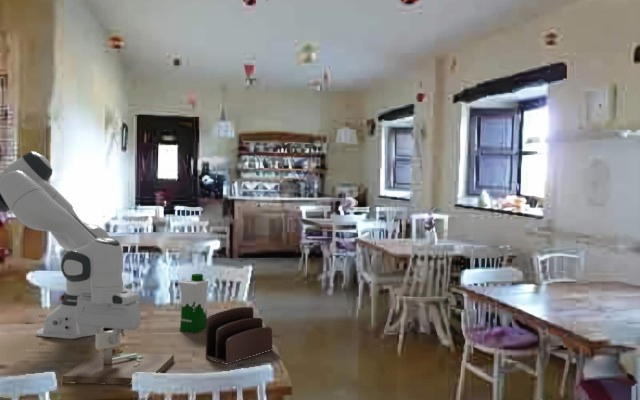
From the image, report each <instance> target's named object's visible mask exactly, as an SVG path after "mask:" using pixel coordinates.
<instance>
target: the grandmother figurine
mask: <svg viewBox="0 0 640 400" xmlns="http://www.w3.org/2000/svg"><path fill="white" fill-rule="evenodd" d="M111 330H113V328H103V332H105V331H111ZM121 330H122V331H121V333H120V334H121V337H123V338H124V337H125V335H126V334H125V330H123V329H121ZM112 353H124V352H123V349H122V348H121V345H120V346H116V347H112Z"/></svg>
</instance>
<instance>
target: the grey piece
mask: <svg viewBox="0 0 640 400" xmlns="http://www.w3.org/2000/svg"><path fill="white" fill-rule="evenodd" d="M114 333H115V332H113V330H111V331H105V332H100V333H95V335H94V336H95V338H94V339H95V340H94V341H95V349H96V350H98V351H100V350H103V351H102V353H103V364H112V361H116V360H121V359H126V358H130V357H135V356H137V354H138V353H136V352H134V353H135V354H130V355H126V356H121V357H116V358H112V353H113V352H112V347H116V346H120V347H121V339H120V338H121V335H120V334H121V333H120V334H119V336H118V343H116V344H112V343H110V337H113V335H114Z"/></svg>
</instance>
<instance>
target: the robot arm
mask: <svg viewBox="0 0 640 400" xmlns="http://www.w3.org/2000/svg"><path fill="white" fill-rule="evenodd" d="M52 176H53V168H52V165H51V163H50V162H49V160H48V159H47V158H46V157H45V156H44V155H43V154H40V153H38V152H37V151H29V152H26V153H23V154H22V157H19V158H18V159H16V160H15V161H13V162H12V163H10V164H8V165H7V166H6V167H5V168H4V169H3V170H2V171H1V172H0V213H6V212H9V211H11V212H12V214H13V215H14V216H15V217H16V218H17V220H18V221H19V222H20V223H21V224H22V225H24V226H25V227H26V228H28V229H31V230H36V231H43V232H49V233H51V235H52V236H53V238H54V239H55V240H56V241H57V243H58V245H59V246H60V247H61V248H62V249H63V250H65V251H67V252H66V253H64V255H63V257H62V259H61V261H60V269H61V272H62V275H63V277H64V278H65V279H66V280H65V281H66V283H65V284H66V285H65V286H66V287H65V288H66V292H65V293H64V294H63V295H61V296H59V301H61V304H60V305H58V306H57V307H55V309H53V310H52V311H50V312H49V313H48V314H47V315H46V316H45V319H44V321H43V327H42V328H40V329H38V330H37V332H36V336H37V337H46V338H47V337H48V338H58V339H69V340H74V339H78V338H84V337H90V336H95V333H100V332H103V328H113V332H115V333H114V335H113V337H110V343H112V344H116V343H118V336H119V334H121V331H122V330H121V329H123V331H134V330H136V329H138V328H139V327H140V325H141V308H140V305H139V303H138V301H139V299H140V297H139V296H140V295H139V293H137V292H134V291H132V290H131V289H129V288H127V287H124V281H123V271H124V256H123V254H124V252H123V248H122V244H121V243H120V241H118V240H117V239H114V238H112V237H110V236H109V235H110V234H108V232H107V231H106V230H105V229H104V228H102V227H101V226H100V225H96V224H92V223H86V222H85V221H83V220H81V219H80V218H79V216H78V215H77V214H76V212H75V210H74V207H73V205H72V204H71V203H70V202H69V201H68V199H66V198H65V197H64V196H63V195H62V194H61V192H59V191H58V190H57V188H55V187H54V186H53V185H51V183H49V182H48V181H49V180H50V179H51V177H52Z"/></svg>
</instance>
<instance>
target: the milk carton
mask: <svg viewBox="0 0 640 400" xmlns="http://www.w3.org/2000/svg"><path fill="white" fill-rule="evenodd" d="M178 286H179V289H180V290H179V291H180V324H179V325H180V326H179V327H180V328H179V331H180V332H186V333H190V332H191V334H197V333H200V332H202V330H203V331H205V330H204V329H206V320H207V318H208V316H207V315H208V314H207V313H208V307H207V306H208V303H207V302H208V301H207V298H208V297H207V296H208V295H207V294H208V286H209V280H206V279H204V275H203V274H202V273H194V274H193V273H192V274H191V279H184V280H181V281H178ZM199 331H200V332H199ZM196 332H197V333H196Z"/></svg>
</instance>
